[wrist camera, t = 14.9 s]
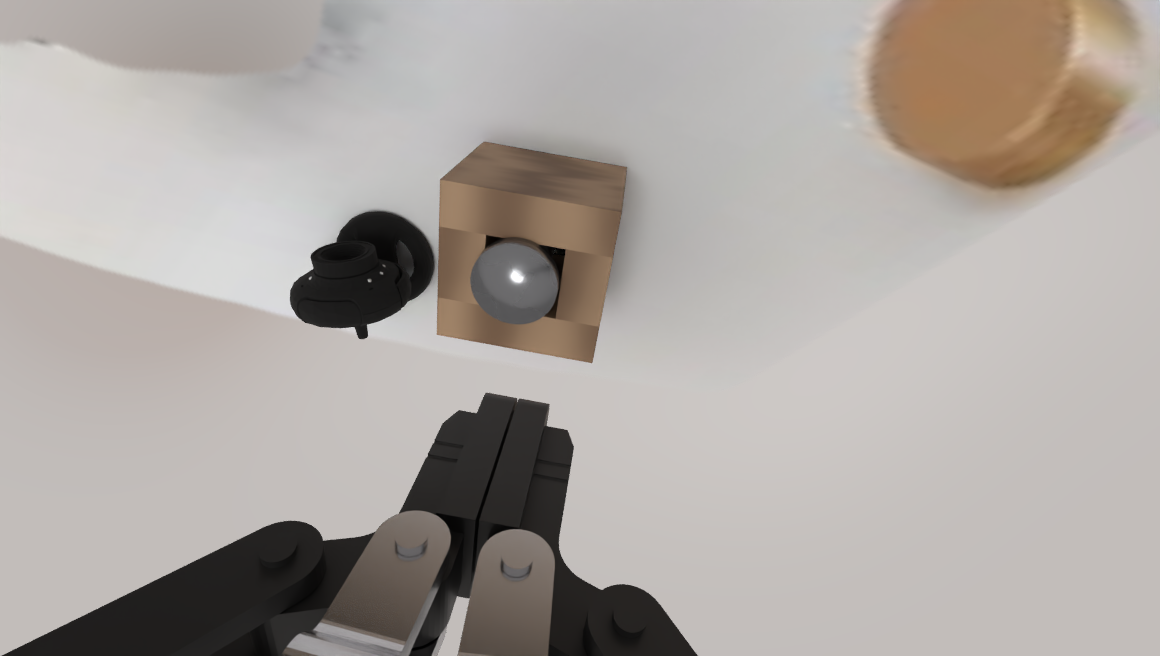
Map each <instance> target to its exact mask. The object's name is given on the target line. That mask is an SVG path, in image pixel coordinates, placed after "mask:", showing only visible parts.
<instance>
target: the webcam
mask: <svg viewBox="0 0 1160 656" xmlns="http://www.w3.org/2000/svg"><path fill="white" fill-rule="evenodd" d="M398 240H400V241H401V242H403V243H404V244H405V245H406V247H407V248H408V249H409V251H410V253H411V255H412V257H413V261H414V272H413V274H412V276H411V278H410V279H409V275H408V274H407V272H406V271H405V269H403V268H402V267H401V266H400V265H398V261H397V255H396V244H397V241H398ZM311 261H312V264H313V268H314V269H313V270H311V271H309V272H308V273H306V274H305V275H303V276H302V277H300V278H299V279H298V280H297V281H296V282H294V284H293V286H292V288H291V290H290V303H291V307H292V309H293V310H294V312H295V314H296V315H297V317H299V318H300V319H301V320H302V321H304V322H305V323H309V324H313V325H316V326H319V327H330V328H348V327H355V329H356V332H357V335H358V338H359V339H365V338H367V337H368V331H367V324H371V323H375V322H378V321H381V320H383V319H385V318H387V317H389V316H391V315H393V314H395V313H396V312H398V311H399V310H401V308H402V307H404V306H405V304H406V303H407V301H410V300H412V299H414V298H416V297H417V296H419V295H420V294H421V293H422V292H423V291H424V290H425V289H426V287H427V286H428V285H429V283H430V280H431V277H432V273H433V257H432V254H431V251H430V248H429V246H428V244H427V242H426V240H425V239H424V237H423V236H422V235H421V233H420V232H419V231H418V230H417V229H415V228H414V227H413V226H412V225H410V224H409V223H408V222H406V221H405V220H404V219H402V218H400V217H397V216H395V215H392V214H389V213H384V212H368V213H364V214H360V215H358V216H356V217H354V218H352V219H351V220H350V221H349V222H348V223H347V224H346V225H345V226H344V227H343V228H342V230H341V231H340V233H339V236H338V238H337V242H336V243H332V244H329V245H325V246H323V247H321V248H319V249H317V250H315V251H314V252H313V253H312V254H311Z"/></svg>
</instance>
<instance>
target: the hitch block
mask: <svg viewBox="0 0 1160 656" xmlns="http://www.w3.org/2000/svg"><path fill="white" fill-rule="evenodd" d="M626 172H627V167H622V166H617V165H611V164H605V163H600V162H594V161H589V160H583V159H577V158H572V157H566V156H561V155H555V154H549V153H544V152H538V151H533V150H527V149H522V148H516V147H510V146H505V145H499V144H494V143H488V142H483V143H482V144H481V145H480V146H478V147H477V148H476V149H475V150H474V151H473V152H471V153H470V154H469V155H468V156H467V157H466V158H465V159H463V160H462V161H461V162H460V163H459V164H458V165H456V166H455V167H454V168H453V169H452V170H451V171H450V172H448V173H447V174H446V175H445V176H444V177H443V178H441V179H440V212H439V259H438V305H437V335H442V336H447V337H453V338H458V339H464V340H469V341H474V342H480V343H485V344H491V345H496V346H502V347H507V348H513V349H518V350H524V351H529V352H535V353H540V354H545V355H551V356H556V357H562V358H567V359H573V360H578V361H584V362H589V363H592V362H593V357H594V351H595V346H596V341H597V336H598V331H599V326H600V321H601V316H602V311H603V305H604V300H605V295H606V290H607V285H608V280H609V275H610V270H611V265H612V259H613V254H614V249H615V244H616V239H617V234H618V229H619V224H620V219H621V213H622V206H623V197H624V189H625V180H626ZM508 237H519V238H525V239H528V240H531V241H533V242H535V243H537V244H539V245H545V246H550V247H556V248H562V249H566V251H565V256H563V255H557V254H553V259H554V260H555V262H556V264H557V267H558V270H559V275H560V285H559V290H558V293H557V296H556V300H555V302H554V304H553V306H552V308H551V309H550V311H549V312H548V313H547V314H546V315H545V316H543V317H542V318H541V319H539V320H537V321H534V322H532V323H528V324H509V323H505V322H502V321H499V320H497V319H495V318H493V317H492V316H490V315H489V314H487V313H486V312H485V311H484V310H483V309H482V308H481V307H480V306H479V304H478V303H477V301H476V300H475V298H474V295H473V293H472V290H471V284H470V277H471V272H472V268H473V266H474V264H475V262H476V261H477V259H478V258H479V256H480V255H481V253H482V252H483V250H484V249H485V248H486V247H487V246H489V245H490V244H491V243H493V242H495V241H497V240H499V239H503V238H508Z"/></svg>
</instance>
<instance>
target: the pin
mask: <svg viewBox="0 0 1160 656" xmlns="http://www.w3.org/2000/svg"><path fill="white" fill-rule="evenodd" d="M555 249H556V247H550V246H545V245H539V244H537V243H535V242H533V241H531V240H528V239H525V238H519V237H508V238H503V239H499V240H497V241H495V242H493V243H491V244H490V245H489V246H487V247H486V248H485V249H484V250H483V252H482V253H481V255H480V256H479V258H478V259H477V261H476V262H475V264H474V266H473V268H472V272H471V277H470V284H471V290H472V293H473V295H474V298H475V300H476V301H477V303H478V304H479V306H480V307H481V308H482V309H483V310H484V311H485V312H486V313H487V314H489V315H490V316H492V317H493V318H495V319H497V320H499V321H502V322H505V323H509V324H528V323H532V322H534V321H537V320H539V319H541V318H542V317H543V316H545V315H546V314H547V313H548V312H549V311H550V309H551V308H552V306H553V304H554V302H555V300H556V296H557V293H558V290H559V285H560V275H559V270H558V267H557V264H556V262H555V260H554V259H553V254H554V251H555Z"/></svg>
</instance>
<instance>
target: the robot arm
mask: <svg viewBox="0 0 1160 656" xmlns="http://www.w3.org/2000/svg"><path fill="white" fill-rule="evenodd" d="M548 413H549V404H546V403H541V402H535V401H530V400H524V399H519V400H518V402H517V398H513V397H507V396H502V395H496V394H491V393H486V394H485V395H484V397H483V400H482V402H481V405H480V407H479V409H478V412H477V413H471V412H466V411H460V410H459V411H458V412H456V413H455V414H454V415H452V416H451V417H450V418H449V419H448V420H446V421H445V422H444V423H443V424H442V426H441V428H440V430H439V433H438V434H437V436H436V439H435V442H434V444H433V445H432V447H431V449H430V451H429V453H428V457H427V458H426V459H425V461H424V463H423V465H422V467H421V470H420V472H419V474H418V476H417V478H416V480H415V482H414V484H413V486H412V489H411V490H410V492H409V494H408V496H407V498H406V501H405V503H404V505H403V507H402V509H401V510H400V512H399V514H397V515H394V516H393V517H391V518H389V519H388V520H386V521H385V522H383V523H382V524H381V526H379V528H378V529H377V530H376V532H374V533H372V534H369V535H365V536H361V537H355V538H346V539H336V540H327V541H323V539H322V536H321V534H320V532H319V531H318V530H317V529H316V528H314V527H313V526H312V525H309V524H307V523H304V522H300V521H284V522H278V523H274V524H271V525H269V526H266V527H264V528H261V529H259V530H257V531H256V532H253V533H251V534H249V535H247V536H245V537H243V538H241V539H239V540H237V541H235V542H233V543H231V544H229V545H227V546H225V547H223V548H221V549H219V550H217V551H215V552H212V553H210V554H208V555H206V556H204V557H202V558H200V559H198V560H196V561H194V562H192V563H190V564H188V565H186V566H184V567H182V568H180V569H178V570H176V571H174V572H172V573H170V574H168V575H166V576H163V577H161V578H159V579H157V580H155V581H153V582H151V583H149V584H147V585H145V586H143V587H141V588H139V589H137V590H135V591H133V592H131V593H129V594H127V595H125V596H123V597H121V598H119V599H117V600H115V601H113V602H110V603H109V604H106V605H104V606H102V607H100V608H98V609H96V610H94V611H92V612H90V613H88V614H86V615H84V616H82V617H80V618H78V619H76V620H74V621H72V622H70V623H68V624H66V625H63V626H61V627H59V628H57V629H55V630H53V631H51V632H49V633H47V634H45V635H43V636H41V637H39V638H37V639H35V640H33V641H31V642H29V643H27V644H25V645H23V646H21V647H19V648H17V649H14V650H12V651H10V652H8V653H7V654H4V655H2V656H437V655H438V652H439V650H440V647H441V645H442V642H443V640H444V637H445V633H446V629H447V624H448V622H449V619H450V616H451V613H452V610H453V606H454V603H455V600H456V597H457V596H459V597H464V598H470V600H469V605H468V609H467V614H466V618H465V623H464V628H463V632H462V637H461V642H460V646H459V651H458V655H457V656H697V654H696V653H695V652H694V650H693V649H692V648H691V646H690V645H689V643H688V642H687V641H686V640H685V638H684V637H683V635H682V634H681V633H680V631H679V630H678V629H677V627H676V626H675V625H674V623H673V622H672V620H671V619H670V618H669V616H668V615H667V614H666V612H665V611H664V610H663V608H662V607H661V605H660V604H659V603H658V602H657V601H656V600H655V598H653V597H652V596H651V595H650V594H649V593H647V592H645V591H644V590H642V589H640V588H638V587H634V586H631V585H625V584H622V585H621V584H620V585H613V586H610V587H607V588H605V589H604V590H600V589H598V588H596V587H595V586H593V585H591V584H589V583H587V582H585V581H584V580H582V579H580V578H579V577H577V576H576V575H575V574H574V573H572V571H571V570H570V569H569V568H568V567H567V566H566V564H565V563H564V561H563V559H562V557H561V554H560V551H559V534H560V528H561V522H562V516H563V510H564V504H565V498H566V492H567V486H568V480H569V474H570V467H571V461H572V456H573V449H574V446H573V444H572V441H571V438H570V436H569V433H568V431H567V430H564V429H558V428H553V427H548V426H547V420H548Z"/></svg>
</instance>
